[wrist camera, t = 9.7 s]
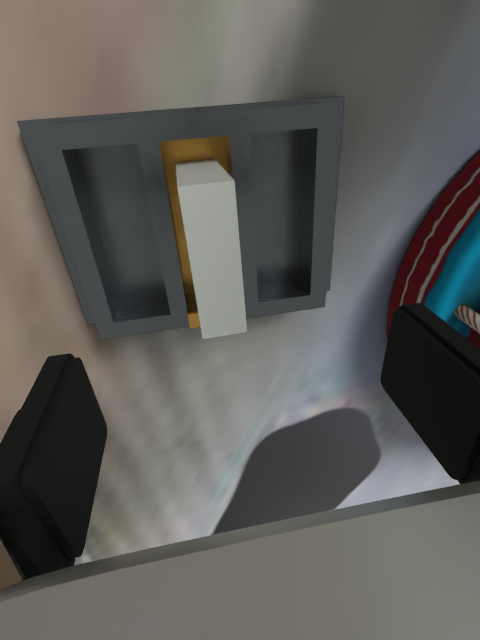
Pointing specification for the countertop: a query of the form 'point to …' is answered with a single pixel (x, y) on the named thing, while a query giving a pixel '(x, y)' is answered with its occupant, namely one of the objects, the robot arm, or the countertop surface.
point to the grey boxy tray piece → (165, 211)
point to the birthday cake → (447, 258)
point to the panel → (213, 245)
